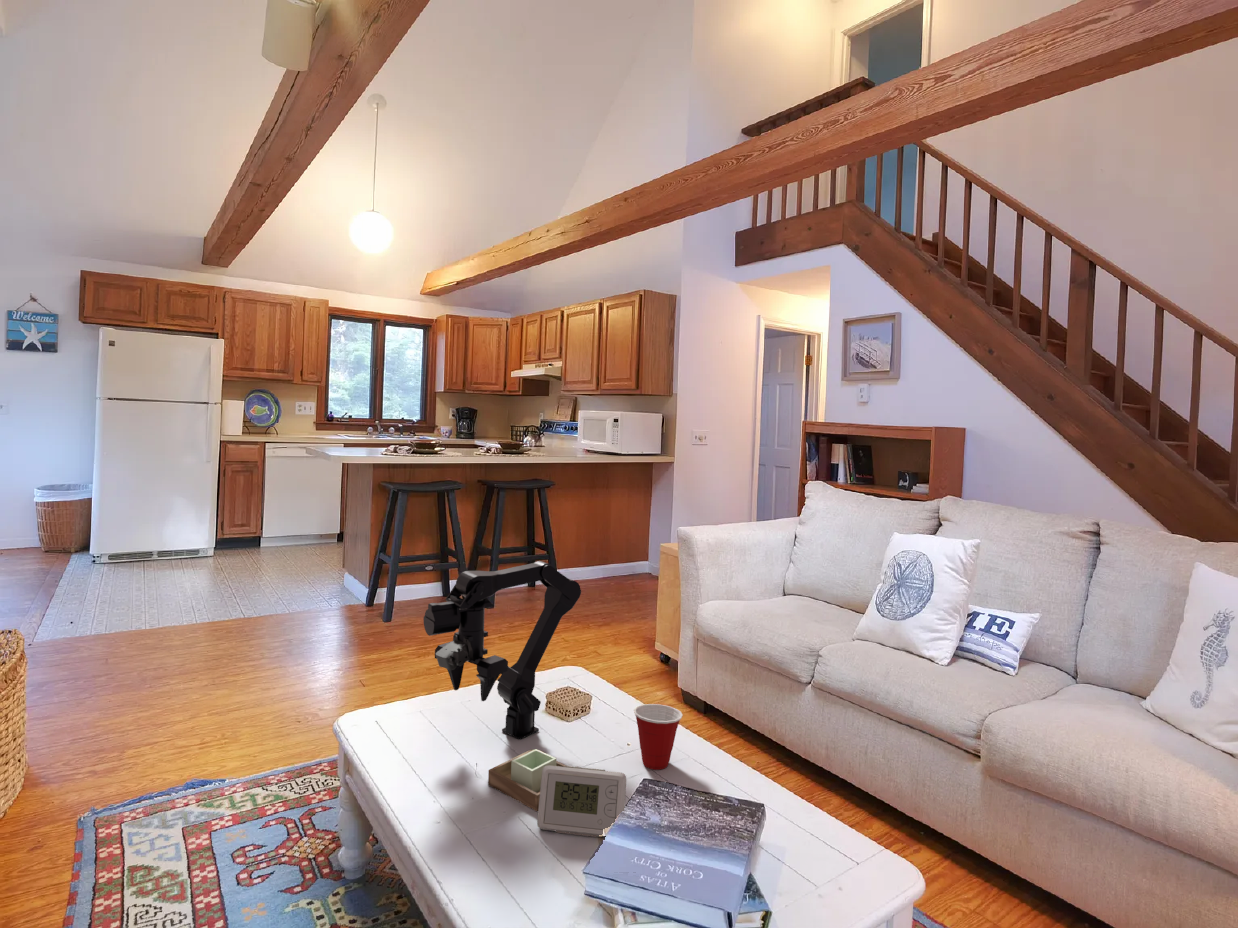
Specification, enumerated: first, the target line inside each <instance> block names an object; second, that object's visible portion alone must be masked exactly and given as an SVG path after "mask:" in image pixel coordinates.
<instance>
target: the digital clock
mask: <svg viewBox="0 0 1238 928" xmlns="http://www.w3.org/2000/svg"><path fill="white" fill-rule="evenodd" d="M626 787H627V775H626V774H625V773H623V772H619V771H611V770H610V771H608V770H606V769H600V768H589V767H581V766H570V765H569V766H568V765H566V766H565V767H561V766H550V765H548V766H545V767H544V768H543V771H542V779H541V789H540V799H539V809H538V811H537V822H536V823H537V827H538V828H539V830H542V831H543V830H544V831H545V830H546V831H552V832H553V831H554V832H555V833H557V834H558V833H559V834H568V835H576V836H584V837H585V836H587V837H596V836H599V835H602V834H603V829H605V828H608V827H610V826H611V824H612V823H614V822H615V819H616V818H617V816H618V815H619V814H620V813H621V812H622V811H624V812H625V805H626V792H627V791H626V790H627V788H626ZM596 838H597V837H596Z"/></svg>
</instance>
